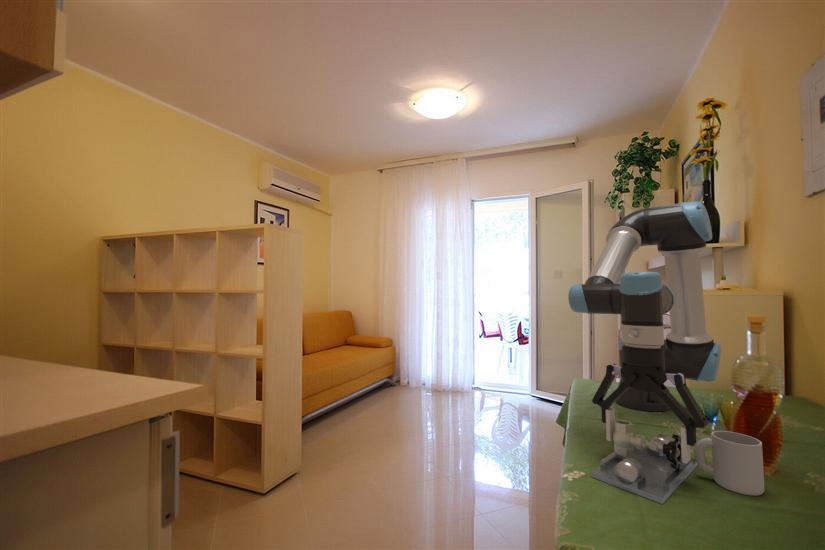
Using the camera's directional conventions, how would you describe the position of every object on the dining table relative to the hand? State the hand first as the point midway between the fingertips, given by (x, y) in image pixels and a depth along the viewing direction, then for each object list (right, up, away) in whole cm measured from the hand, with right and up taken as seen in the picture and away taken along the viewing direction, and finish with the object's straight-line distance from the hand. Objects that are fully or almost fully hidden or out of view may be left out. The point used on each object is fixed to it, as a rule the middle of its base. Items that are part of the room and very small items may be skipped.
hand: (645, 449), depth 74 cm
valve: (0, -3, 0) cm, 2 cm away
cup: (+12, -4, -5) cm, 14 cm away
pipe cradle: (0, -4, 0) cm, 4 cm away
